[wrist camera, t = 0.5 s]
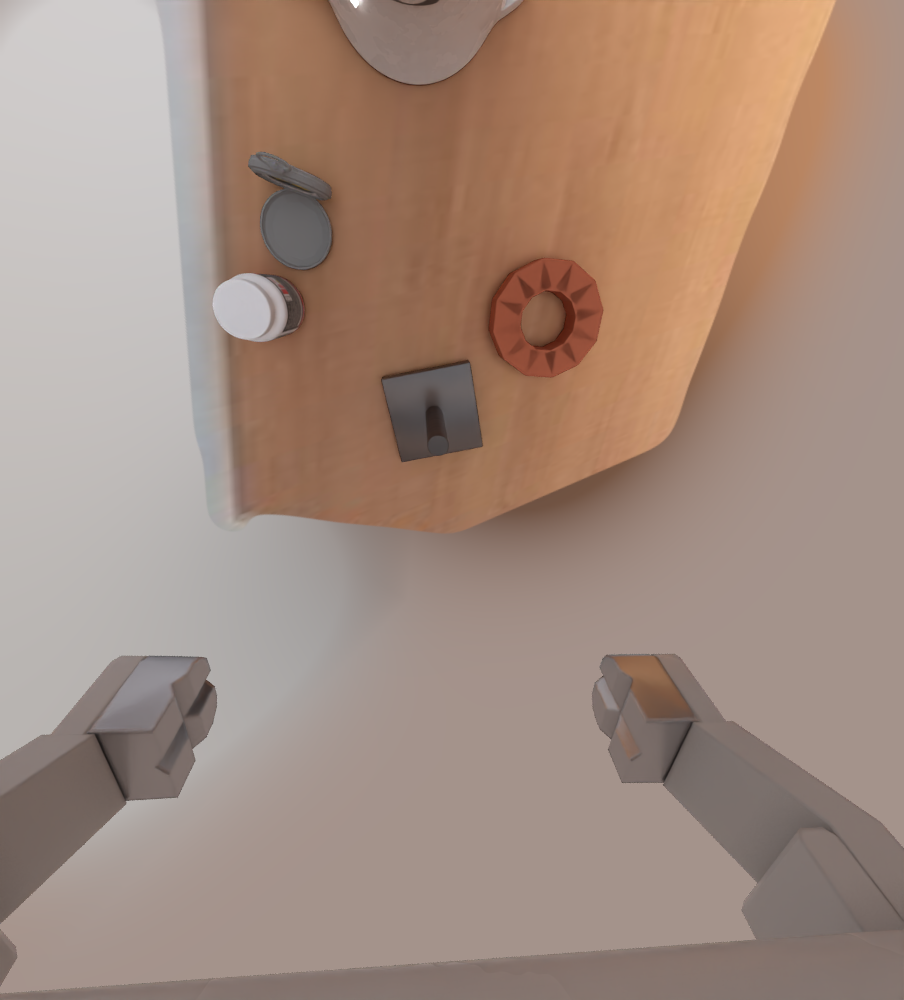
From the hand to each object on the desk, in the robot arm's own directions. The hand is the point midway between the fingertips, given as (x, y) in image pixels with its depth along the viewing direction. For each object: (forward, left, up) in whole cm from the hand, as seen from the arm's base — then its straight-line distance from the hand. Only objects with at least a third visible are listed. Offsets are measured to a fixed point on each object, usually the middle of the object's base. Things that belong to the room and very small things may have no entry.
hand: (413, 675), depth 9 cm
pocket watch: (-13, -12, -44) cm, 47 cm away
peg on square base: (+5, +2, -44) cm, 44 cm away
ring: (-6, +13, -44) cm, 46 cm away
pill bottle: (-5, -15, -44) cm, 46 cm away
